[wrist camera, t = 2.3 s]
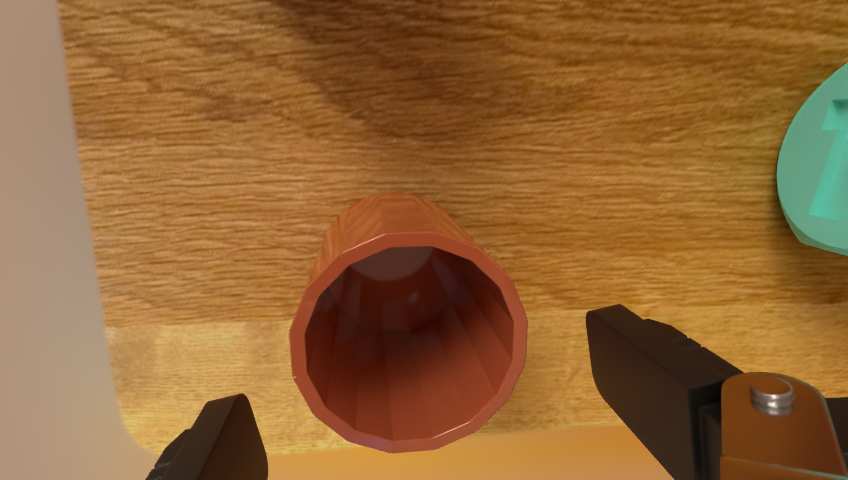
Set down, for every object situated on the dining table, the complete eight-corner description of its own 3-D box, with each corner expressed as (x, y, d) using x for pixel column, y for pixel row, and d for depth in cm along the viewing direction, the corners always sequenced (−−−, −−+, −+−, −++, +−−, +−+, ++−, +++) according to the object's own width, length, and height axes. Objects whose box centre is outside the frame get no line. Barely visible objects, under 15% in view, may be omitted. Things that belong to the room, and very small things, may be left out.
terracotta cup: (286, 269, 20) (237, 358, 12) (392, 159, 20) (409, 179, 12) (396, 361, 22) (414, 492, 14) (496, 261, 21) (572, 338, 13)
